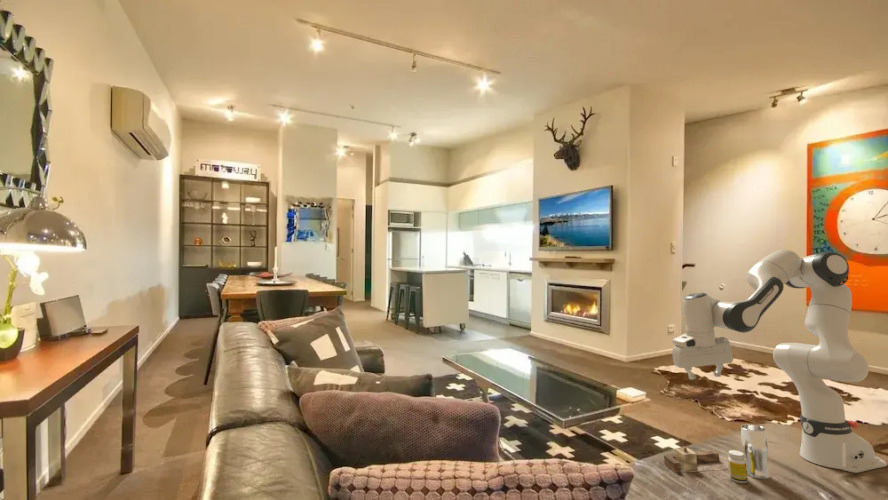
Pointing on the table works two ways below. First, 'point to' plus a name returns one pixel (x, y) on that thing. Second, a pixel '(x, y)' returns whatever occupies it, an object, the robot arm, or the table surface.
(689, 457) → the block
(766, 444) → the beer glass
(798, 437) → the table surface
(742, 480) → the supplement bottle
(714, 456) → the fence board
